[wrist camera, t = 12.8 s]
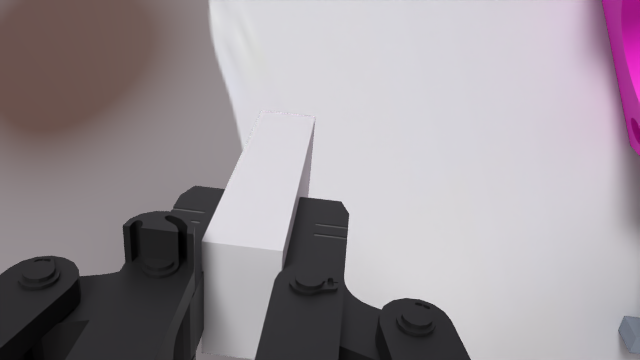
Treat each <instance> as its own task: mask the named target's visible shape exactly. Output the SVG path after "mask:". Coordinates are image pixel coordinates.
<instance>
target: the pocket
mask: <svg viewBox="0 0 640 360" xmlns="http://www.w3.org/2000/svg"><path fill="white" fill-rule="evenodd" d="M619 333H620V335H621V337H622V338H623V340H624V342H625V344H626V346H627V348H628V350H629V352H630V353H636V354H640V318H636V317H627V316H624V318H623V321H622V323H621V326H620V328H619Z"/></svg>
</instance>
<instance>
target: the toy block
mask: <svg viewBox="0 0 640 360" xmlns="http://www.w3.org/2000/svg"><path fill="white" fill-rule="evenodd" d="M602 4H603V9H604V14H605V19H606V24H607V29H608V34H609V39H610V44H611V49H612V54H613V59H614V64H615V69H616V74H617V79H618V84H619V89H620V95H621V100H622V105H623V110H624V115H625V120H626V125H627V130H628V135H629V140H630V145H631V147H632V148H633V149H634V150H635V151H636V152H637V153H638V155H639V156H640V0H602Z"/></svg>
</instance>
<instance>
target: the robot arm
mask: <svg viewBox="0 0 640 360" xmlns="http://www.w3.org/2000/svg"><path fill="white" fill-rule="evenodd" d="M314 126H315V116H307V115H298V114H289V113H280V112H272V111H263V110H262V111H261V113H260V115H259V117H258V119H257V122H256V124H255V126H254V128H253V130H252V132H251V135H250V137H249V139H248V141H247V143H246V146H245V148H244V150H243V152H242V154H241V156H240V159H239V161H238V163H237V165H236V167H235V169H234V172H233V174H232V176H231V178H230V180H229V182H228V185H227V187H226V189H218V188H210V187H201V186H194V187H192V188H191V189H189V190H188V191H186V192H185V193H183V194H181V195H180V197H179V198H178V200H177V202H176V204H175V205H174V207H173V210H171V212H169V211H165V212H164V211H154V212H149V213H143V214H140V215H138V216H136V217H133V218H131V219H129V220H128V221H127V222H126V223H125V224H124V225H123V235H124V249H125V264H124V265H123V267H122V269H121V270H120V271H119V272H115V273H110V274H103V275H92V276H80V277H79V270H78V268H77V266H76V265H75V263H74V262H72V261H70V260H68V259H66V258H62V257H56V256H42V257H35V258H32V259H28V260H24V261H21V262H19V263H18V264H16V265H14V266H12V267H10V268H9V269H8V270H6V271H5V272H3V273H2V274H1V275H0V360H196V349H197V346H198V344H199V341H200V338H201V336H202V353H207V354H215V355H223V356H230V357H238V358H246V359H254V360H471V359H470V357H469V355H468V353H467V351H466V349H465V347H464V345H463V343H462V341H461V339H460V337H459V335H458V333H457V331H456V329H455V327H454V325H453V323H452V321H451V320H450V318H449V317H448V316H447V315H446V313H445V312H444V311H442V310H441V309H439V308H438V307H436V306H435V305H433V304H431V303H428V302H425V301H422V300H420V299H409V298H404V299H398V300H393V301H391V302H390V303H388V304H386V305H384V307H383V308H382V310H381V309H378V308H375V307H372V306H370V305H368V304H366V303H363V302H361V301H360V300H359V299H357V298H356V297H354V296H353V295H352V294H351V293H350V292H349V290H348V289H347V287H346V285H345V282H344V270H345V258H346V245H347V233H348V221H349V213H348V211H347V210H346V208H345V207H344V205H343V204H342V202H340V201H332V200H323V199H315V198H308V192H309V181H310V170H311V159H312V148H313V137H314Z"/></svg>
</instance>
